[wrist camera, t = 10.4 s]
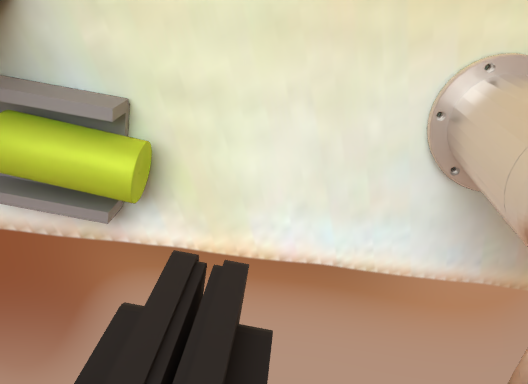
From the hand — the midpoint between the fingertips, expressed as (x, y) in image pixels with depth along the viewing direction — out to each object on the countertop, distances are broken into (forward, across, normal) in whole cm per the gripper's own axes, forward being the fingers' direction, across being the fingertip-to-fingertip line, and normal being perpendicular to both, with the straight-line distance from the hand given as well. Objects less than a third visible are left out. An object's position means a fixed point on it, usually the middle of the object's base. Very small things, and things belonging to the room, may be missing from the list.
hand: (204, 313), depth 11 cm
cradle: (+37, +20, +11) cm, 44 cm away
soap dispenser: (+34, +11, +12) cm, 37 cm away
